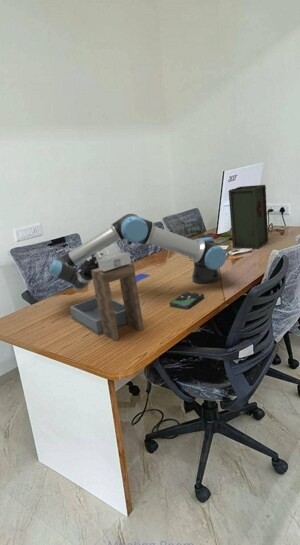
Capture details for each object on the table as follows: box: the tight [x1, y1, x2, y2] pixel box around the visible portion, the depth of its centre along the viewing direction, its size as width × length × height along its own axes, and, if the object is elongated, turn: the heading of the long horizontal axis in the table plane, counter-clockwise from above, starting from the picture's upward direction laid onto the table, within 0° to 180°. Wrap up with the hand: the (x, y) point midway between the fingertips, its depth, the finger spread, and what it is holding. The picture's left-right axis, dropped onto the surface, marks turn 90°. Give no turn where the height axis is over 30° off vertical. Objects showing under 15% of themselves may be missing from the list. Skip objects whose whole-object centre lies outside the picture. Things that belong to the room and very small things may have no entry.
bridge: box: [91, 263, 145, 342], centre depth 151 cm, size 10×14×28 cm
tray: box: [69, 297, 127, 336], centre depth 170 cm, size 27×18×6 cm, turn 35°
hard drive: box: [135, 273, 151, 283], centre depth 222 cm, size 2×8×12 cm
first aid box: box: [228, 184, 269, 250], centre depth 256 cm, size 18×18×40 cm
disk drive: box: [169, 291, 205, 311], centre depth 176 cm, size 10×3×15 cm
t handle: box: [90, 251, 132, 271], centre depth 150 cm, size 19×12×4 cm, turn 35°
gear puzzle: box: [200, 232, 232, 241], centre depth 297 cm, size 31×16×4 cm, turn 49°
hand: (103, 253), depth 150 cm, fingers closed on t handle, 3 cm apart
